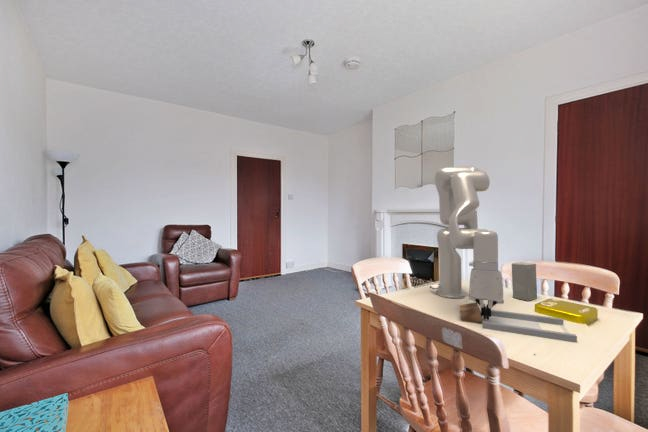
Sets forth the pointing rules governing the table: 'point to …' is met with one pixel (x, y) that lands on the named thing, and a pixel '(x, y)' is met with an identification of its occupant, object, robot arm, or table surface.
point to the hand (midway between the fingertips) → (486, 318)
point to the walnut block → (471, 313)
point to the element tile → (567, 311)
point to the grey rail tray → (526, 325)
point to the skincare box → (524, 281)
